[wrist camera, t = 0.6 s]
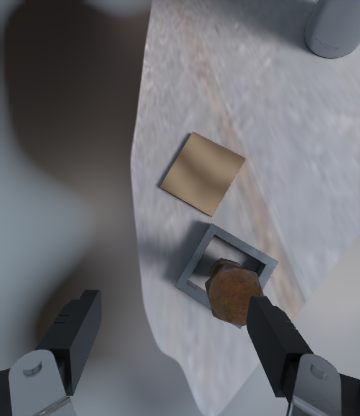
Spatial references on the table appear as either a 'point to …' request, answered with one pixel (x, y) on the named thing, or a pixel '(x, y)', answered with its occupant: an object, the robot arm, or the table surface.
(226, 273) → the bolt
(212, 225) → the steel collar
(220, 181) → the tan pad
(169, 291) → the table surface
